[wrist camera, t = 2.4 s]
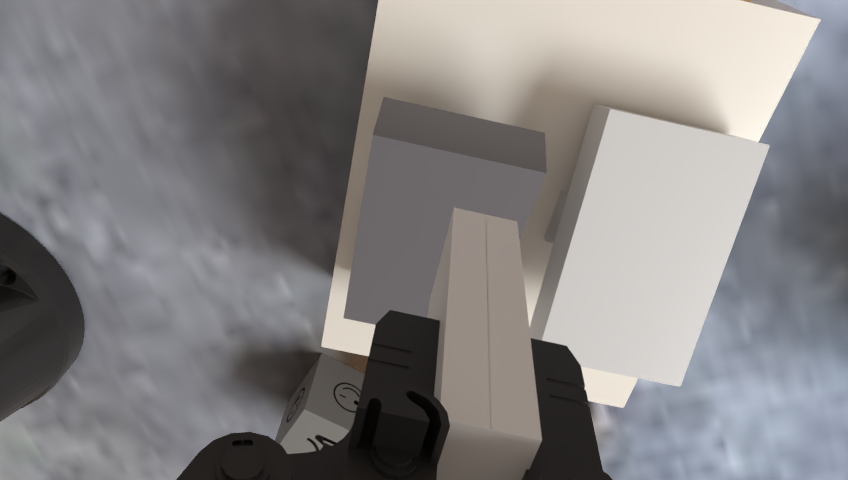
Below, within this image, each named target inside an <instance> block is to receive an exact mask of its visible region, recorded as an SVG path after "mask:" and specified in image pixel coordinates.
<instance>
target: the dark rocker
mask: <svg viewBox="0 0 848 480" xmlns="http://www.w3.org/2000/svg"><path fill="white" fill-rule="evenodd" d="M546 174H547V166H546V145H545V133H543V132H539V131H534V130H530V129H525V128H521V127H516V126H512V125H508V124H503V123H499V122H494V121H490V120H485V119H481V118H476V117H472V116H467V115H463V114H458V113H454V112H450V111H445V110H441V109H436V108H432V107H427V106H423V105H418V104H414V103H409V102H405V101H400V100H396V99H391V98H387V97H383V101H382V104H381V108H380V111H379V114H378V118H377V121H376V125H375V128H374V131H373V135H372V141H371V148H370V154H369V160H368V166H367V173H366V179H365V185H364V192H363V198H362V204H361V211H360V217H359V223H358V229H357V236H356V242H355V248H354V255H353V261H352V267H351V273H350V280H349V286H348V292H347V299H346V305H345V311H344V318H345V319H349V320H354V321H359V322H364V323H369V324H374V325H376V323H377V322H378V321H379V320H380V319H381V318H382V317H383V316H384V315H385V314H386V313H387V312H388V311H389V310H393V311H398V312H403V313H407V314H412V315H417V316H421V317H426V318H427V316H428V307H429V300H430V296H431V293H432V289H433V285H434V281H435V277H436V274H437V270H438V266H439V262H440V259H441V255H442V251H443V247H444V243H445V240H446V236H447V232H448V228H449V224H450V221H451V217H452V213H453V209H454V208H459V209H463V210H468V211H472V212H477V213H481V214H486V215H490V216H495V217H499V218H504V219H508V220H513V221H517V224H518V233H519V239H520V237H521V234H522V232H523V230H524V227H525V225H526V222H527V220H528V218H529V215H530V213H531V210H532V208H533V205H534V203H535V201H536V198H537V196H538V193H539V191H540V188H541V186H542V184H543V181H544V179H545V176H546Z"/></svg>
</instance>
